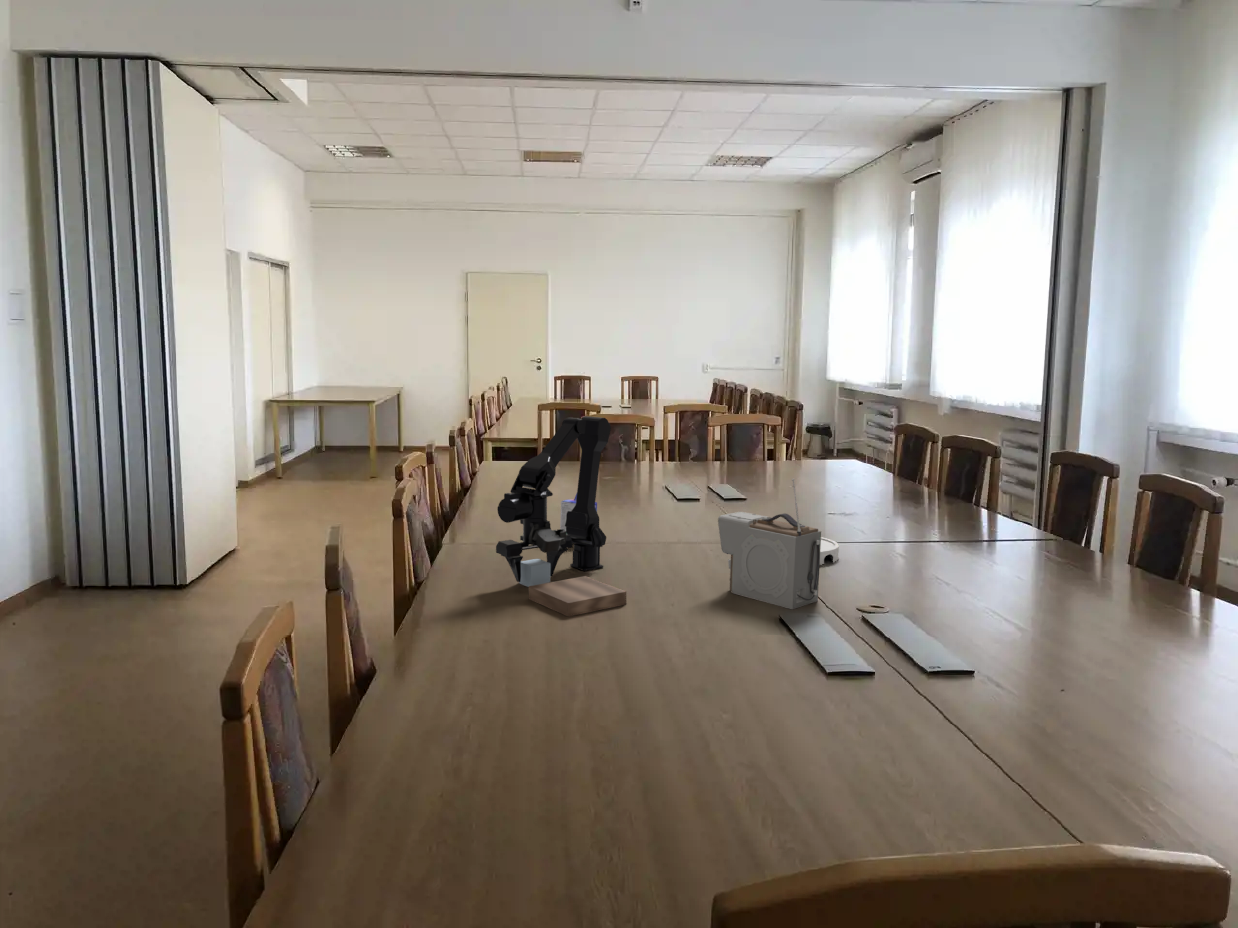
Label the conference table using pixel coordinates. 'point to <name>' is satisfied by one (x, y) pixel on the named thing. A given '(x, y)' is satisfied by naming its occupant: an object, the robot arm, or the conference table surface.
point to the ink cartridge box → (568, 506)
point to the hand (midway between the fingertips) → (534, 578)
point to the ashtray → (828, 549)
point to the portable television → (772, 558)
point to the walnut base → (577, 595)
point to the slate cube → (534, 572)
